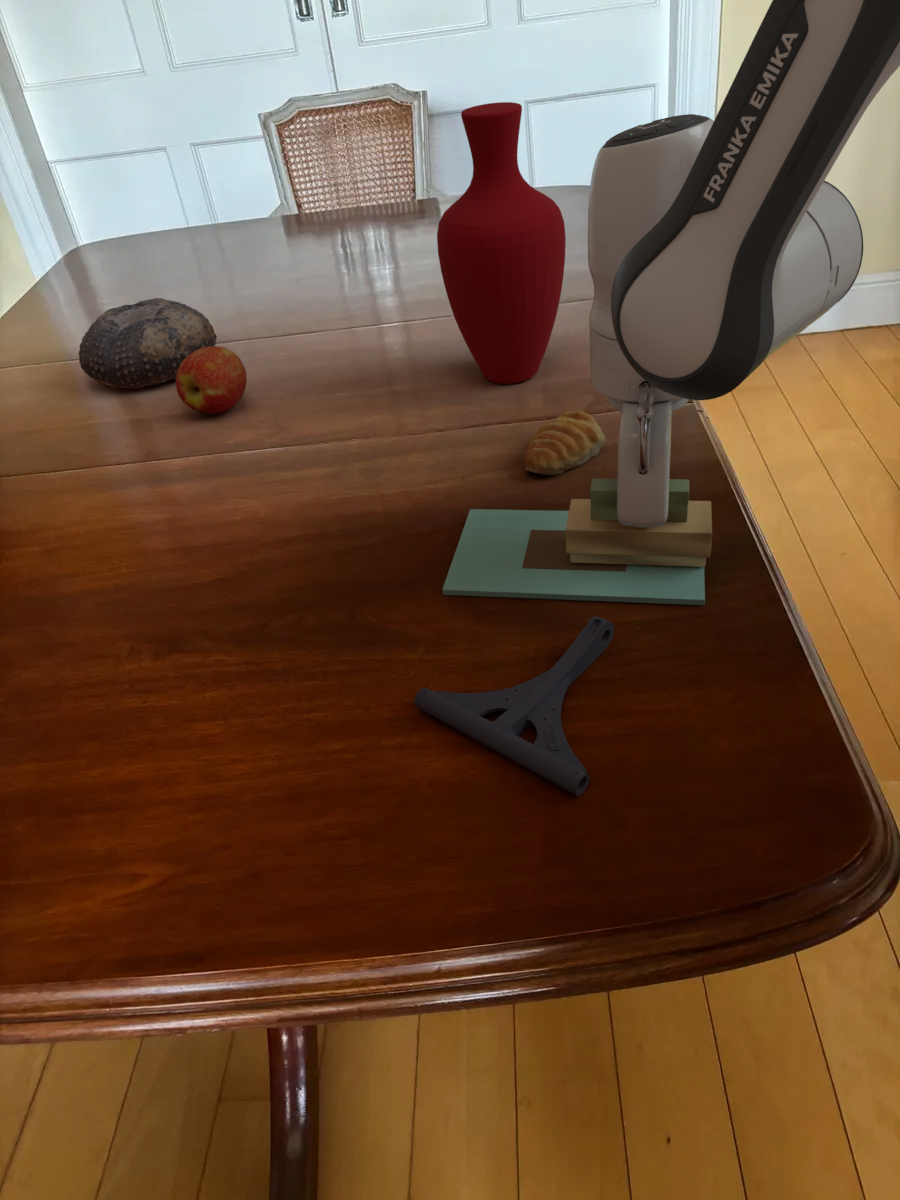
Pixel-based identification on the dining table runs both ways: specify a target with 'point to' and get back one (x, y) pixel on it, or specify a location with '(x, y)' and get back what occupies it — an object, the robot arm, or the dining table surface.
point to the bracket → (527, 712)
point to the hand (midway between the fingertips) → (645, 511)
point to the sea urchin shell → (143, 342)
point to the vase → (502, 252)
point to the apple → (211, 380)
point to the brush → (638, 530)
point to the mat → (554, 565)
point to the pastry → (564, 444)
